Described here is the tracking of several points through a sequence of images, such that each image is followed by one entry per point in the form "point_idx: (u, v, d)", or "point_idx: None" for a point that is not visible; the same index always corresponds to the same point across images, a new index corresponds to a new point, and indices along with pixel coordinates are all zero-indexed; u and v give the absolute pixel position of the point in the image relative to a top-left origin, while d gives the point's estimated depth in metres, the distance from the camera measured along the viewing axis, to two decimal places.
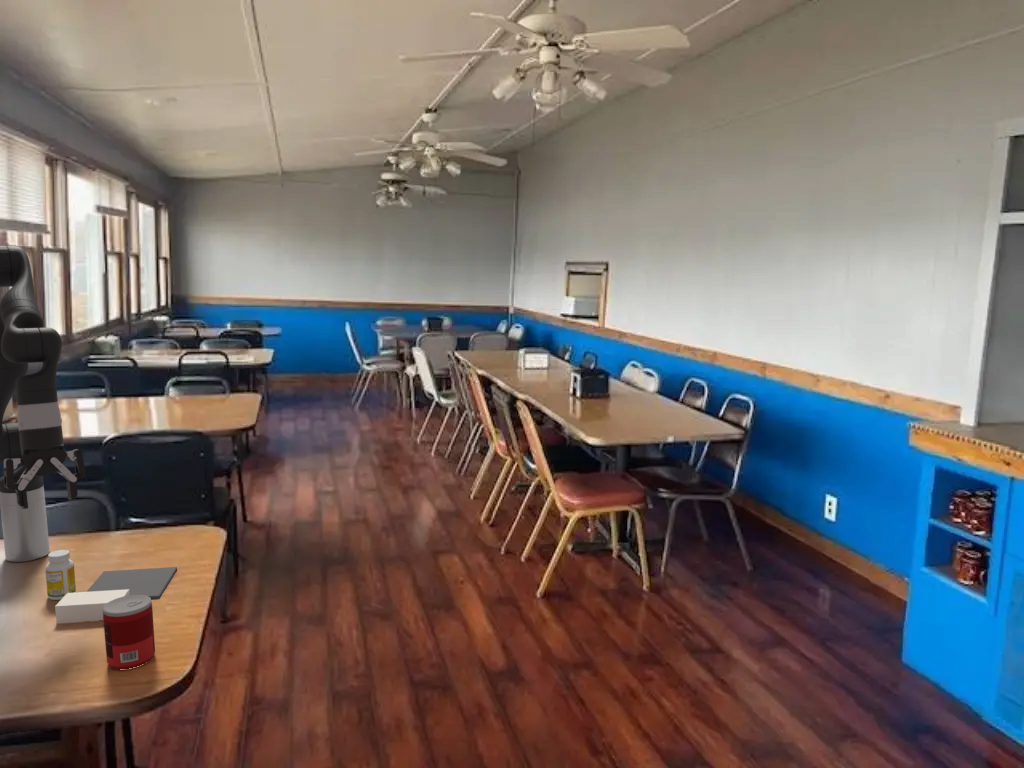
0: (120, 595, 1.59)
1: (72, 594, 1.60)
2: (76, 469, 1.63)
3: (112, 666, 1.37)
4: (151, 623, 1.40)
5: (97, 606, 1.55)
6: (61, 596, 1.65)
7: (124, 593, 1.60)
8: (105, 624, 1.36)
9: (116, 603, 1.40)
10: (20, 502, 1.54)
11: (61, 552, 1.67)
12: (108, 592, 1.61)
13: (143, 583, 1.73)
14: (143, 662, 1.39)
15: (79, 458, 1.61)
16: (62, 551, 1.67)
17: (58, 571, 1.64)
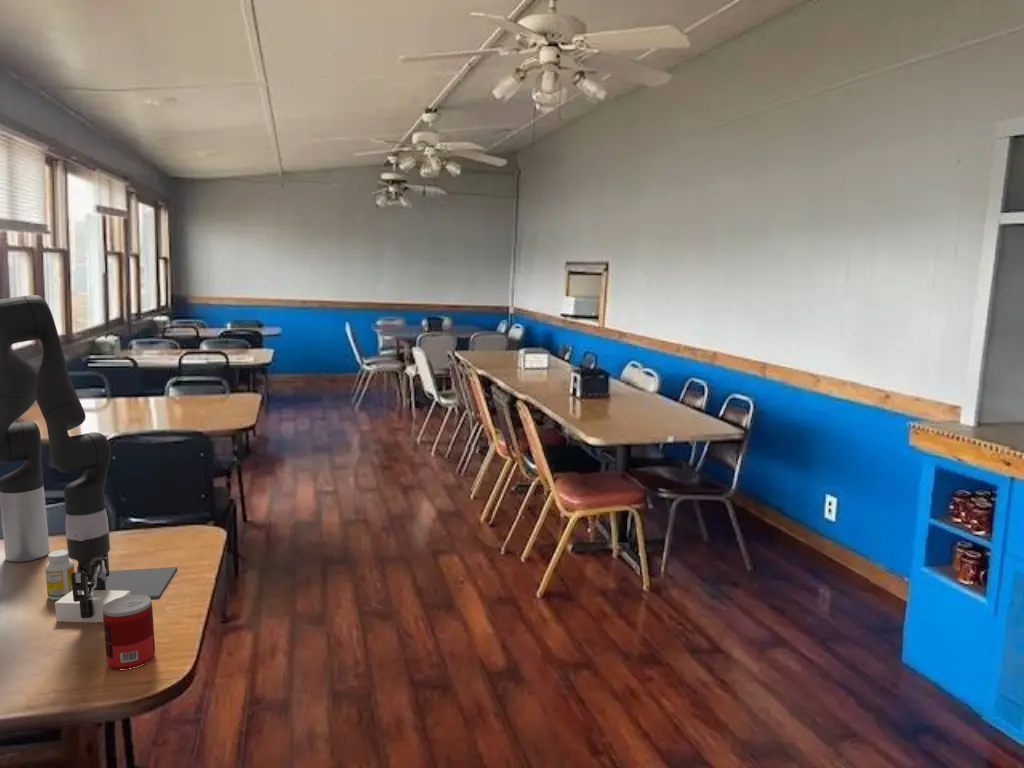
0: (118, 596, 1.58)
1: None
2: None
3: (112, 666, 1.37)
4: (151, 623, 1.40)
5: None
6: (61, 596, 1.65)
7: (123, 595, 1.59)
8: (105, 624, 1.36)
9: (116, 603, 1.40)
10: (89, 612, 1.54)
11: (61, 552, 1.67)
12: (109, 592, 1.60)
13: (143, 583, 1.73)
14: (143, 662, 1.39)
15: (107, 557, 1.63)
16: (62, 551, 1.67)
17: (58, 571, 1.64)
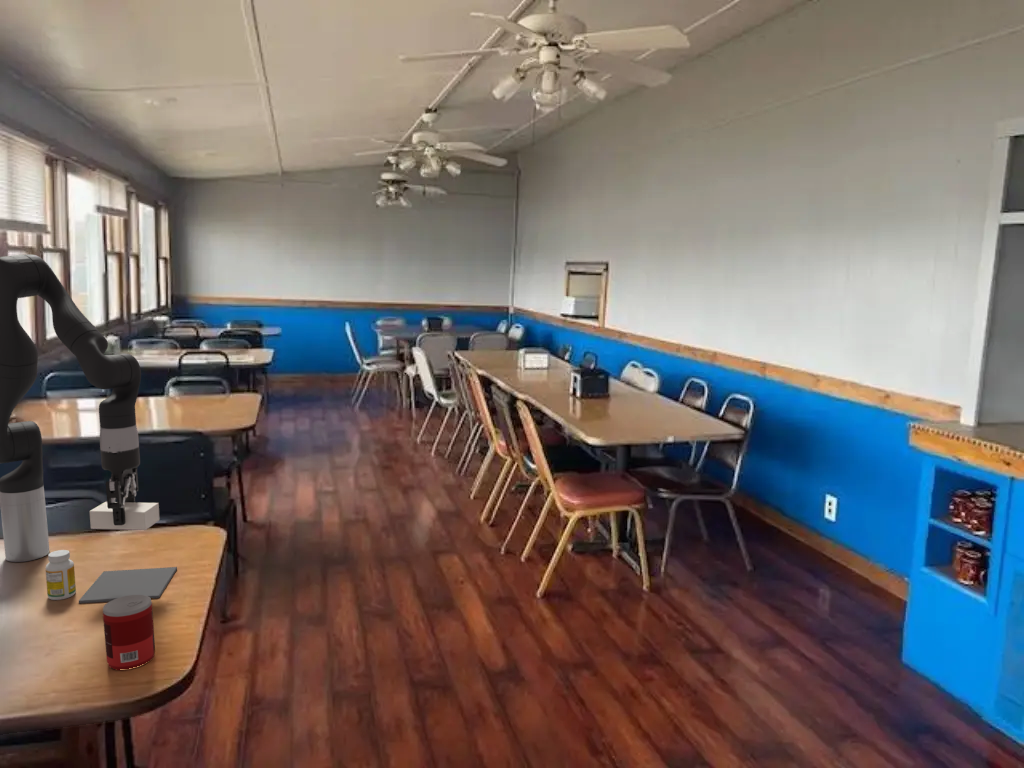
0: (148, 507, 1.70)
1: None
2: None
3: (112, 666, 1.37)
4: (151, 623, 1.40)
5: (125, 514, 1.67)
6: (61, 596, 1.65)
7: (152, 505, 1.71)
8: (105, 624, 1.36)
9: (116, 603, 1.40)
10: (121, 519, 1.66)
11: (61, 552, 1.67)
12: (139, 504, 1.72)
13: (143, 583, 1.73)
14: (143, 662, 1.39)
15: (136, 473, 1.75)
16: (62, 551, 1.67)
17: (58, 571, 1.64)
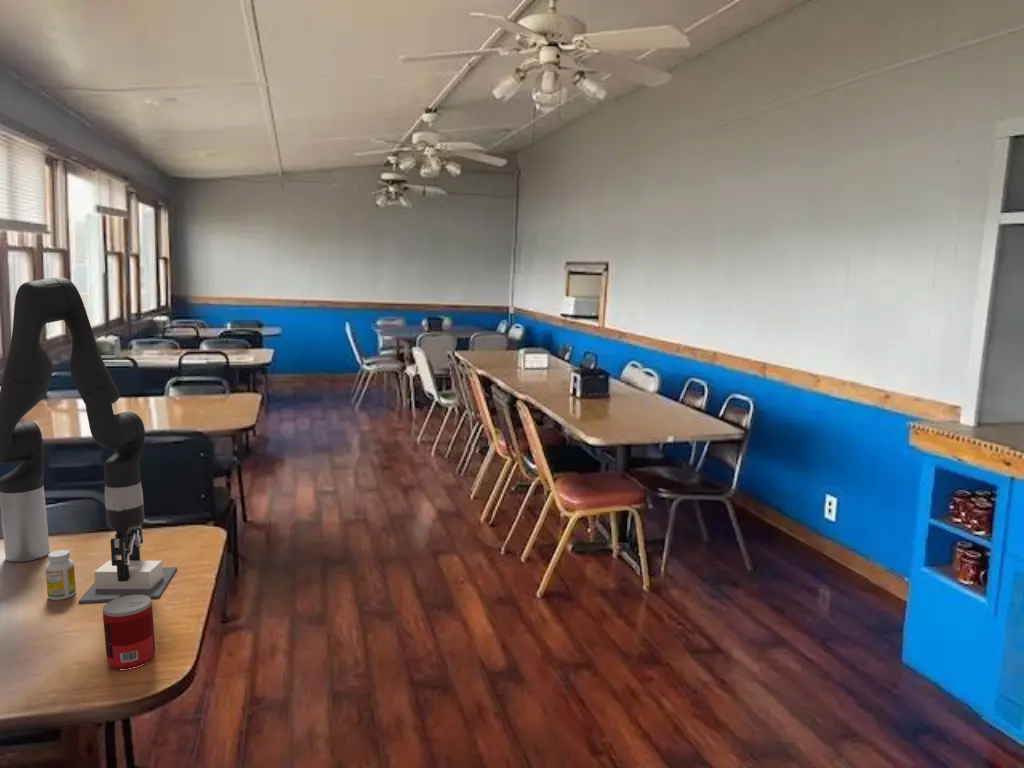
0: (152, 565, 1.72)
1: None
2: None
3: (112, 666, 1.37)
4: (151, 623, 1.40)
5: (130, 574, 1.69)
6: (61, 596, 1.65)
7: (156, 564, 1.73)
8: (105, 624, 1.36)
9: (116, 603, 1.40)
10: (125, 575, 1.67)
11: (61, 552, 1.67)
12: (143, 562, 1.74)
13: None
14: (143, 662, 1.39)
15: (140, 526, 1.77)
16: (62, 551, 1.67)
17: (58, 571, 1.64)
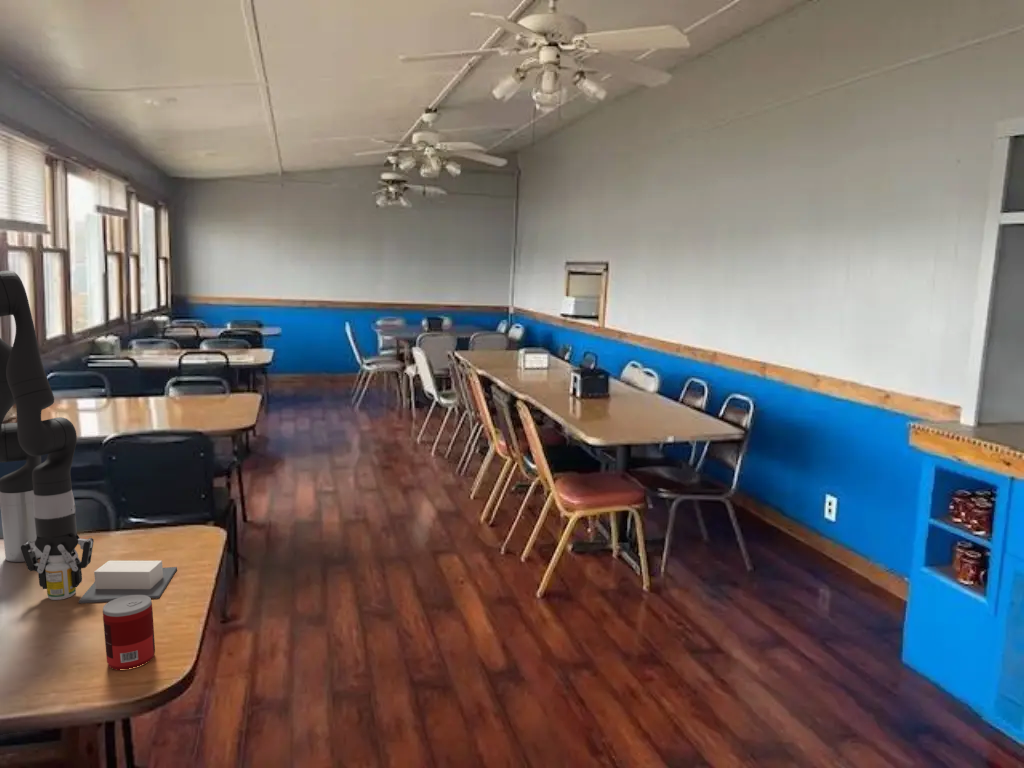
0: (152, 565, 1.72)
1: (112, 562, 1.74)
2: None
3: (112, 666, 1.37)
4: (151, 623, 1.40)
5: (130, 574, 1.69)
6: (61, 596, 1.65)
7: (156, 564, 1.73)
8: (105, 624, 1.36)
9: (116, 603, 1.40)
10: None
11: None
12: (143, 562, 1.74)
13: None
14: (143, 662, 1.39)
15: None
16: None
17: (58, 571, 1.64)
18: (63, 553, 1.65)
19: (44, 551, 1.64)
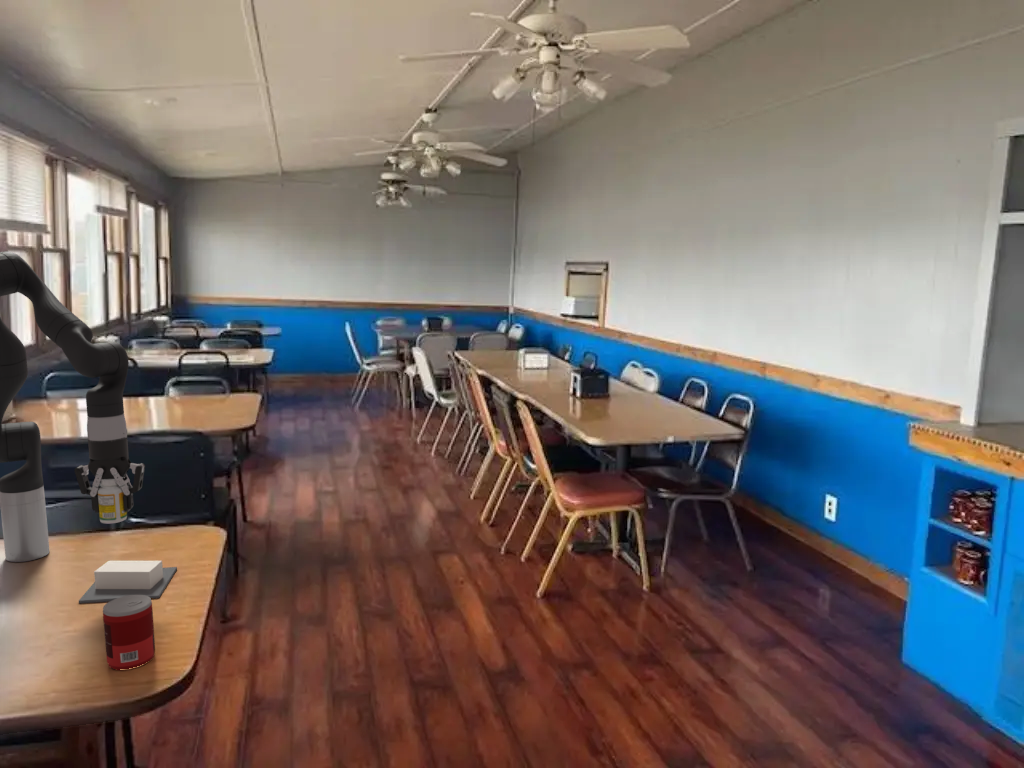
0: (152, 565, 1.72)
1: (112, 562, 1.74)
2: None
3: (112, 666, 1.37)
4: (151, 623, 1.40)
5: (130, 574, 1.69)
6: (113, 520, 1.66)
7: (156, 564, 1.73)
8: (105, 624, 1.36)
9: (116, 603, 1.40)
10: None
11: None
12: (143, 562, 1.74)
13: None
14: (143, 662, 1.39)
15: None
16: None
17: (111, 494, 1.65)
18: (115, 476, 1.66)
19: (97, 474, 1.65)
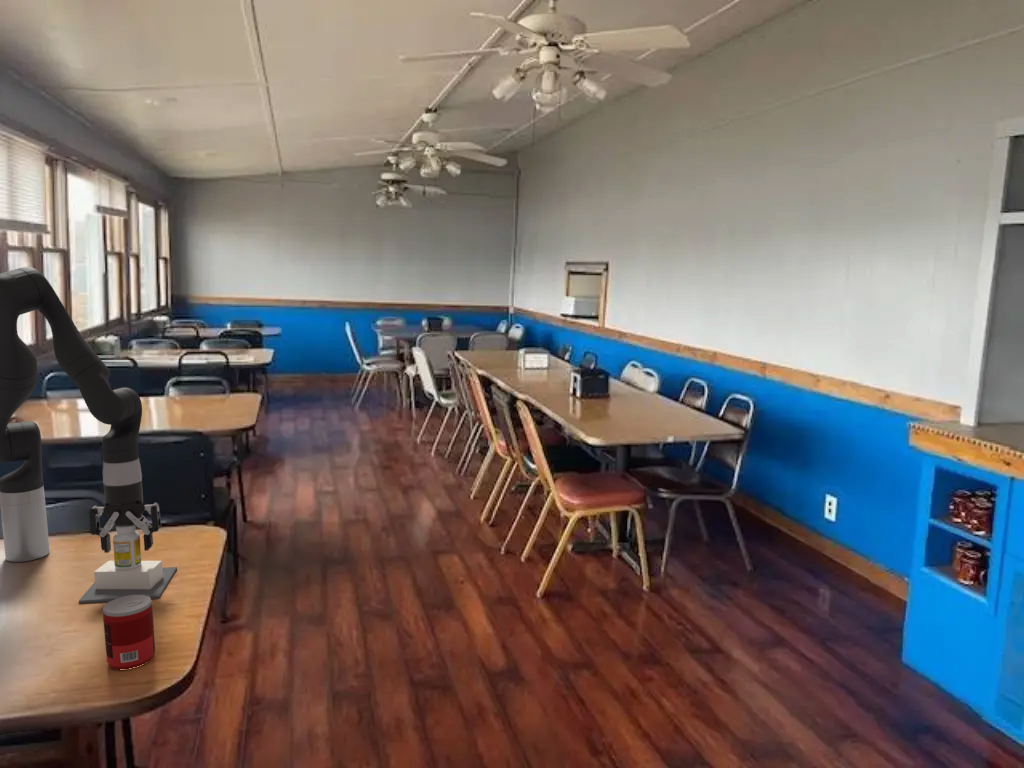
0: (152, 565, 1.72)
1: (112, 562, 1.74)
2: None
3: (112, 666, 1.37)
4: (151, 623, 1.40)
5: (130, 574, 1.69)
6: (128, 566, 1.70)
7: (156, 564, 1.73)
8: (105, 624, 1.36)
9: (116, 603, 1.40)
10: None
11: None
12: (143, 562, 1.74)
13: None
14: (143, 662, 1.39)
15: None
16: None
17: (126, 542, 1.69)
18: (132, 519, 1.69)
19: (112, 517, 1.68)
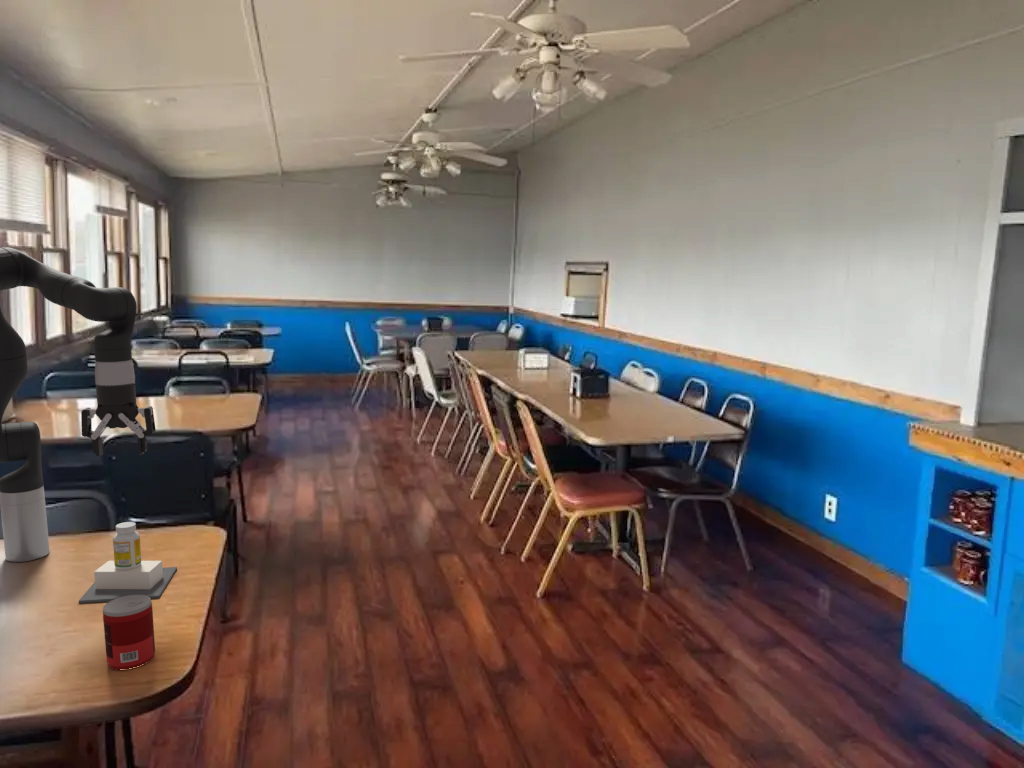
0: (152, 565, 1.72)
1: (112, 562, 1.74)
2: None
3: (112, 666, 1.37)
4: (151, 623, 1.40)
5: (130, 574, 1.69)
6: (128, 566, 1.70)
7: (156, 564, 1.73)
8: (105, 624, 1.36)
9: (116, 603, 1.40)
10: None
11: (128, 524, 1.71)
12: (143, 562, 1.74)
13: None
14: (143, 662, 1.39)
15: None
16: (128, 523, 1.72)
17: (126, 542, 1.69)
18: (125, 422, 1.66)
19: (104, 419, 1.65)
